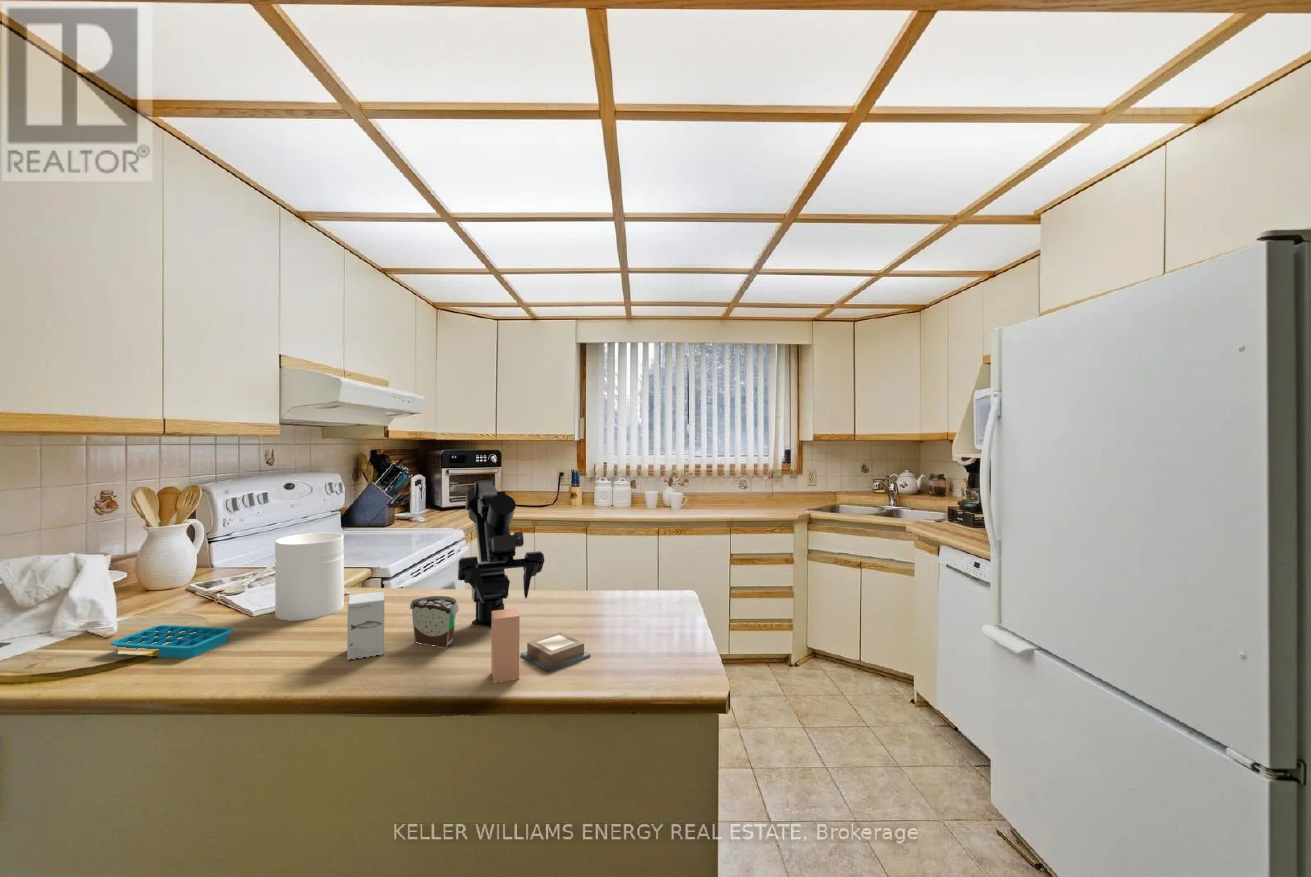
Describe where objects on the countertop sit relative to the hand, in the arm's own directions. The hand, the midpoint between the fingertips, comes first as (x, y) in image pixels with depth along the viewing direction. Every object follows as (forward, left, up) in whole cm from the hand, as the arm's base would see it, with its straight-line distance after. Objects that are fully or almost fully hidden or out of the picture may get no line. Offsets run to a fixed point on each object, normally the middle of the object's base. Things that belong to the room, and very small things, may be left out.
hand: (505, 599), depth 119 cm
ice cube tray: (-74, -21, -14) cm, 78 cm away
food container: (-20, +3, -13) cm, 25 cm away
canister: (-68, +8, -13) cm, 70 cm away
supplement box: (-31, -8, -14) cm, 35 cm away
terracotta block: (+5, -7, -13) cm, 16 cm away
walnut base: (+10, +5, -13) cm, 17 cm away
